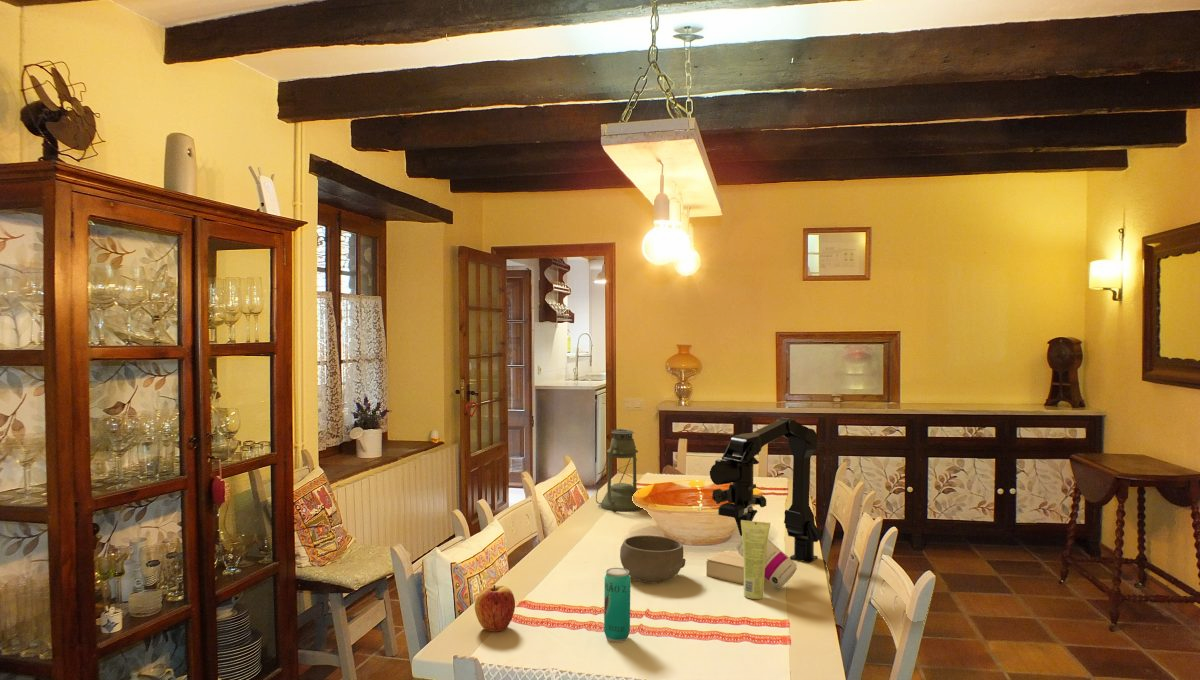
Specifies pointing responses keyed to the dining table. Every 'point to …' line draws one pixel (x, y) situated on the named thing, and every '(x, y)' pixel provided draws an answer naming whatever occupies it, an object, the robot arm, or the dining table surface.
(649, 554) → the bowl
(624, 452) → the lantern
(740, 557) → the flap
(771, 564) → the supplement can
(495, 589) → the apple
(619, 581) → the beverage can
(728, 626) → the dining table surface
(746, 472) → the robot arm
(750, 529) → the tube
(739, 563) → the carton
